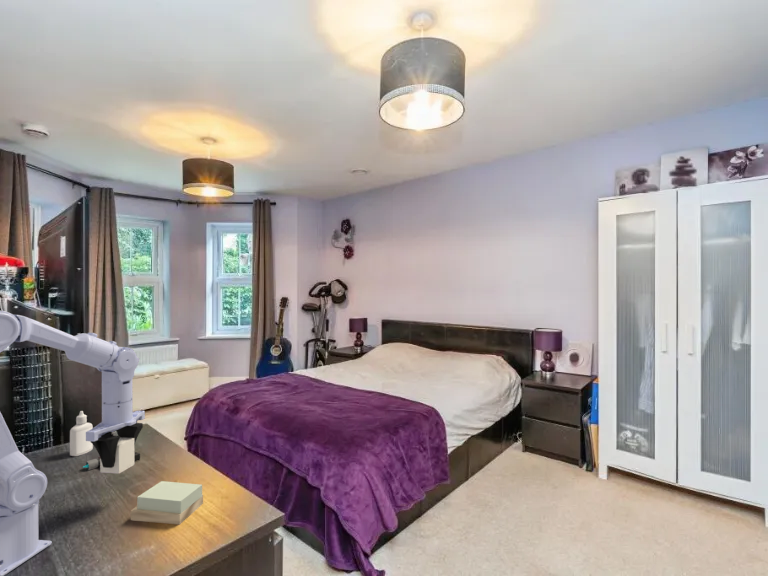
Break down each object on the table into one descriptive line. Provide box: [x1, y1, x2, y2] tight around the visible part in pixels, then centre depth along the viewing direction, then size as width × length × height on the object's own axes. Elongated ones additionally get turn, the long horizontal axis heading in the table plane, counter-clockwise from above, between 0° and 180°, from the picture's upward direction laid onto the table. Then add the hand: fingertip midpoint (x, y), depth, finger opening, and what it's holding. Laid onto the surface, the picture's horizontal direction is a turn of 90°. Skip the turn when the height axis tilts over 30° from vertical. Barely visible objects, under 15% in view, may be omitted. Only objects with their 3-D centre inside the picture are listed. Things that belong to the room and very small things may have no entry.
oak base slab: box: [130, 494, 204, 525], centre depth 86 cm, size 8×11×2 cm
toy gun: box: [82, 451, 141, 471], centre depth 109 cm, size 10×12×5 cm
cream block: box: [99, 437, 135, 474], centre depth 90 cm, size 4×4×6 cm
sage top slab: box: [136, 480, 203, 514], centre depth 86 cm, size 7×10×2 cm
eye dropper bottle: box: [69, 410, 94, 457], centre depth 117 cm, size 4×6×12 cm
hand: (117, 461), depth 90 cm, fingers closed on cream block, 4 cm apart
